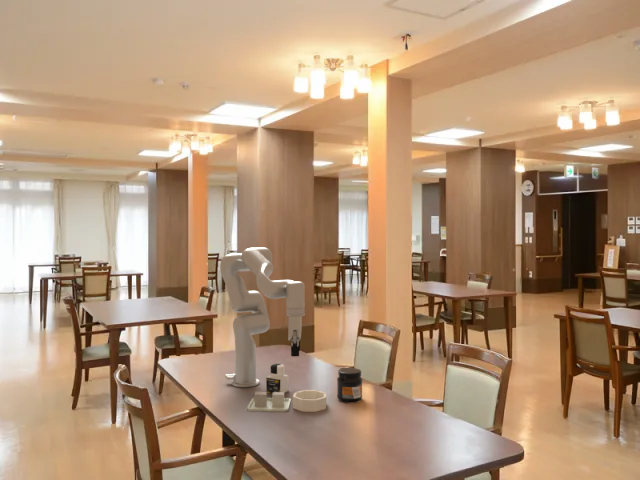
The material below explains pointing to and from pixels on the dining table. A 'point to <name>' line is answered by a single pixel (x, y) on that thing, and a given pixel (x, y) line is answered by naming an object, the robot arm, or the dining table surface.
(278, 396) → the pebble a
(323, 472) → the dining table surface
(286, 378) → the medicine bottle
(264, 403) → the beige small block
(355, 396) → the supplement container
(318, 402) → the bowl
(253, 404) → the tray
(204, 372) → the dining table surface
